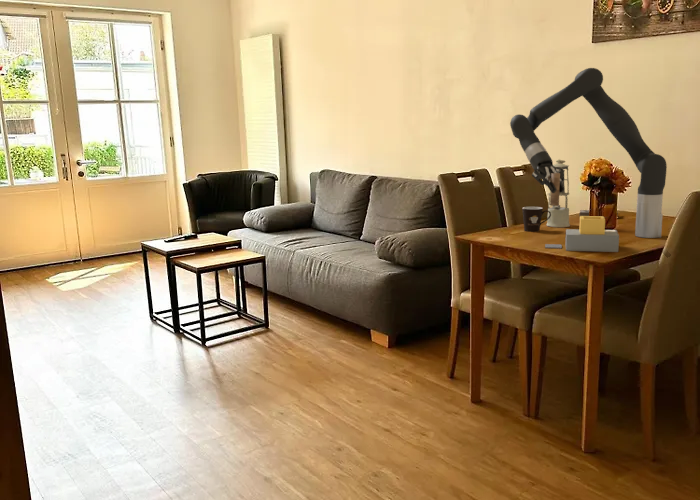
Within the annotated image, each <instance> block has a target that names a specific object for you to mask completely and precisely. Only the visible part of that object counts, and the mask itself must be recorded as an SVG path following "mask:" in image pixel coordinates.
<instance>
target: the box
mask: <svg viewBox="0 0 700 500" xmlns="http://www.w3.org/2000/svg"><path fill="white" fill-rule="evenodd" d="M589 210H590V209H581V210H580V211H579V217H580V216H589ZM618 215H619V213H618V212H617V217H616V218H619V216H618Z"/></svg>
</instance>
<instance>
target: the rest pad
mask: <svg viewBox="0 0 700 500" xmlns="http://www.w3.org/2000/svg"><path fill="white" fill-rule="evenodd" d="M544 248H545V249H559V250H560V249H562V244H554V243H551V244H549V243H545V244H544Z"/></svg>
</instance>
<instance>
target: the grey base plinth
mask: <svg viewBox="0 0 700 500" xmlns="http://www.w3.org/2000/svg"><path fill="white" fill-rule="evenodd" d="M605 218H606V217H604V216H579V227H578V228H579V229H578V228H577V229H576V228H575V229H573V228H571V229H569V228H566V229H565V244H564V245H565V251H569V252H570V251H571V252H572V251H573V252H574V251H576V252H602V253H603V252H604V253H605V252H606V253H608V252H609V253H618V252H619V246H620V245H619V244H620V234H619V232H618V230H617V229H605V228H606V219H605Z"/></svg>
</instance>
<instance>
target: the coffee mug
mask: <svg viewBox="0 0 700 500" xmlns="http://www.w3.org/2000/svg"><path fill="white" fill-rule="evenodd" d="M521 210H522V219H523V230H524V232H531V233H534V232H535V233H536V232H537V233H538V232H540V230H541V229H540V228H541V225H542V224H544V223H545V222H547V220H548V219H549V218H550V217H551V212H550V211H548V209H547V210H546V209H544V210H543V207H541V206H524V207H522V209H521ZM545 212H547V213H548V212H549V214H550V216H549V217H548V216H547V217H548V218H546V219H544V220H543V221H542V216H543V214H545Z"/></svg>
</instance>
